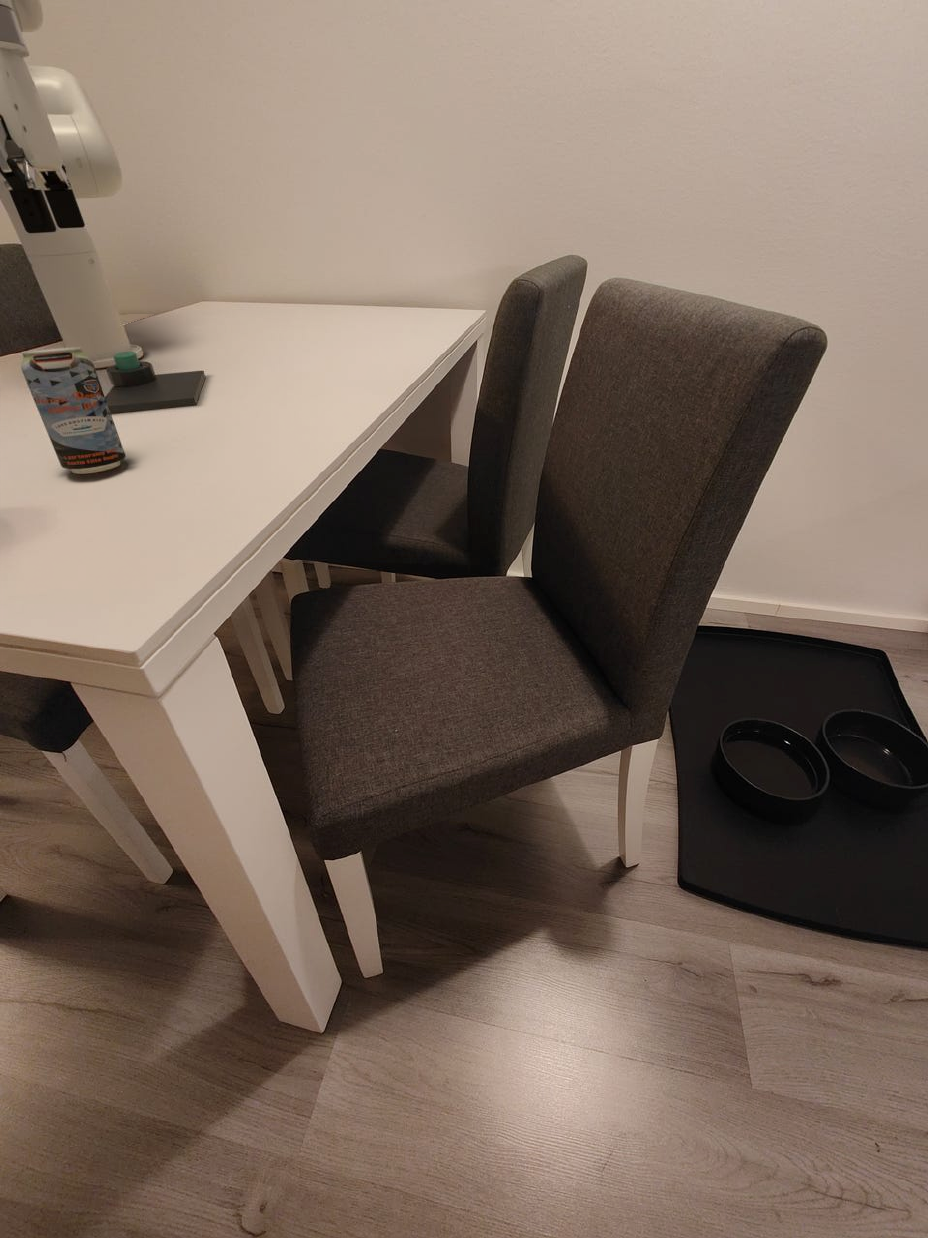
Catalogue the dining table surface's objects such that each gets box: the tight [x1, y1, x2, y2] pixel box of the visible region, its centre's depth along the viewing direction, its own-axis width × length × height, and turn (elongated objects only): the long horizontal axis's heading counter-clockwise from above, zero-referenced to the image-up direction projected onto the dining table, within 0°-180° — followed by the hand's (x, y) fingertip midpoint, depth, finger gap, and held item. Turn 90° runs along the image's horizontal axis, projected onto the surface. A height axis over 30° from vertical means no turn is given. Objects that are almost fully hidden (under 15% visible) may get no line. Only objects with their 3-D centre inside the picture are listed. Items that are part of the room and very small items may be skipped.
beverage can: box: [20, 347, 126, 475], centre depth 57 cm, size 6×7×12 cm
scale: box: [105, 360, 206, 415], centre depth 80 cm, size 14×12×3 cm
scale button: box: [113, 352, 141, 370], centre depth 82 cm, size 3×3×2 cm
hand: (58, 229), depth 70 cm, fingers open, 9 cm apart
